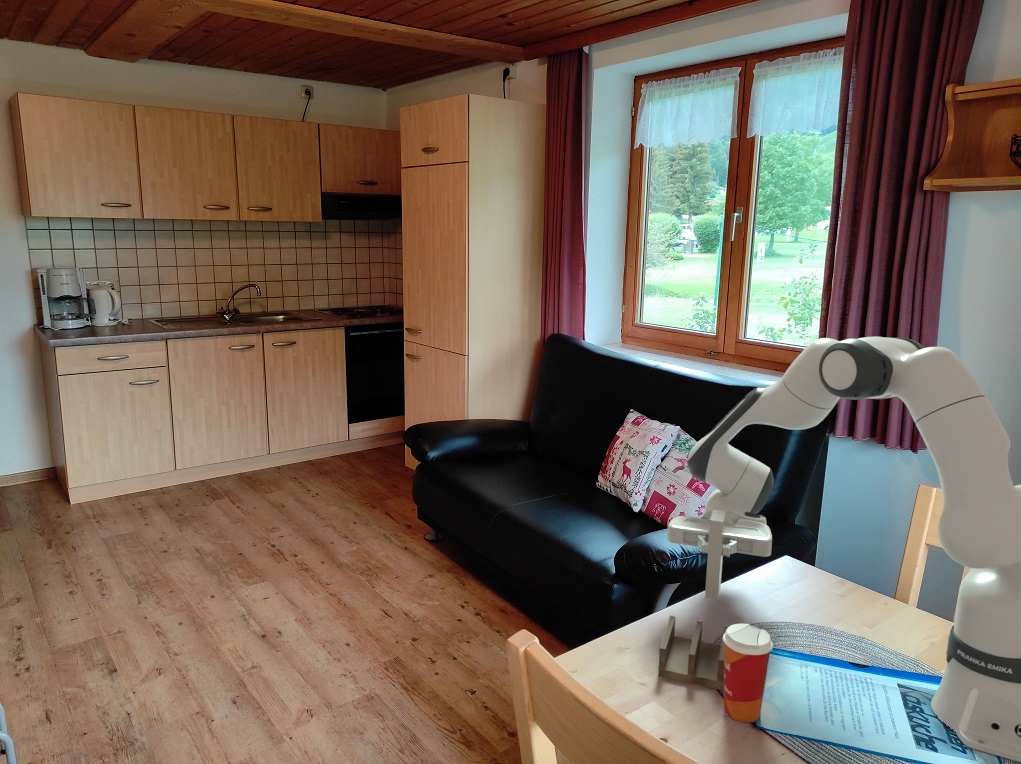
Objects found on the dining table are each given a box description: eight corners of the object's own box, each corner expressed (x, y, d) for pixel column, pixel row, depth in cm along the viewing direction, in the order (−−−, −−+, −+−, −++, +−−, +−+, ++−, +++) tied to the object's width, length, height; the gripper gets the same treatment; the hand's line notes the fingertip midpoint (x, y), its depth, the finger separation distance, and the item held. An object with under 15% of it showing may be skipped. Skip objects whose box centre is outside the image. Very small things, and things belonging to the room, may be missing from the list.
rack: (756, 659, 138) (758, 632, 137) (753, 696, 127) (755, 667, 126) (668, 642, 144) (670, 615, 142) (658, 676, 132) (659, 648, 131)
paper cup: (729, 691, 128) (735, 616, 125) (773, 710, 124) (780, 632, 121) (709, 713, 122) (715, 635, 120) (755, 734, 118) (762, 653, 115)
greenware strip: (720, 586, 149) (726, 510, 146) (717, 600, 144) (723, 521, 140) (708, 584, 150) (713, 509, 147) (704, 598, 144) (710, 520, 141)
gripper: (672, 504, 160) (661, 528, 147) (773, 517, 153) (771, 543, 140) (670, 532, 161) (660, 558, 148) (771, 546, 154) (769, 575, 141)
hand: (715, 551), depth 144 cm, fingers closed on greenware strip, 2 cm apart
